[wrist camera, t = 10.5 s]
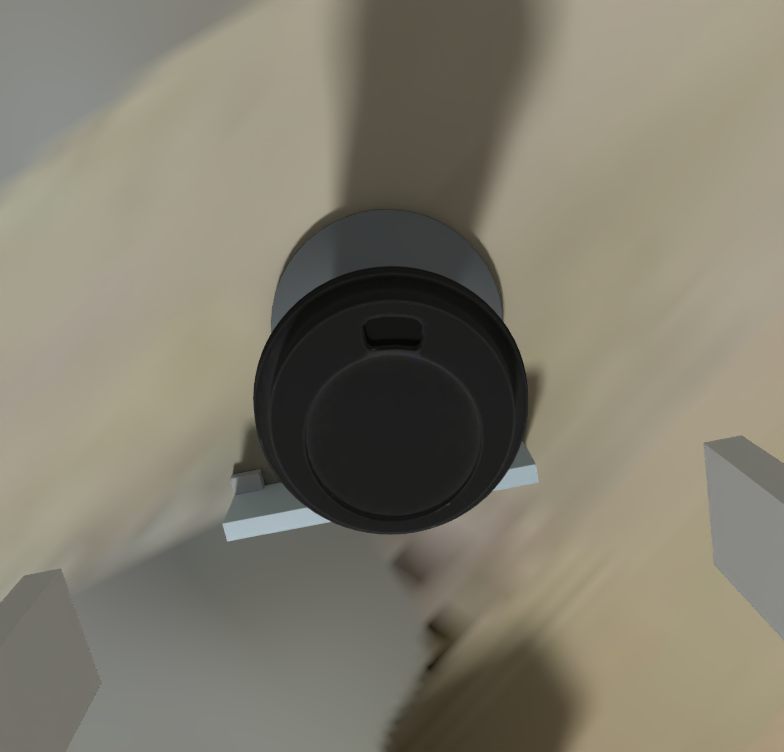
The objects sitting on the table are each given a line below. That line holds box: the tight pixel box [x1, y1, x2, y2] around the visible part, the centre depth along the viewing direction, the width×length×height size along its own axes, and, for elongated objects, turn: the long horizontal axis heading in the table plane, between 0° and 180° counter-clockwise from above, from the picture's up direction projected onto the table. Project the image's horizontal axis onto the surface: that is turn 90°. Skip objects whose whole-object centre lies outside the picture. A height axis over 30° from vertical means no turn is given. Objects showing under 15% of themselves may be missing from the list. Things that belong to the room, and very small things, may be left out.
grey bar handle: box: [223, 441, 539, 541], centre depth 38 cm, size 16×3×4 cm, turn 101°
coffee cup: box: [253, 266, 528, 534], centre depth 30 cm, size 9×9×15 cm
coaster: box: [271, 210, 503, 333], centre depth 38 cm, size 12×12×1 cm
